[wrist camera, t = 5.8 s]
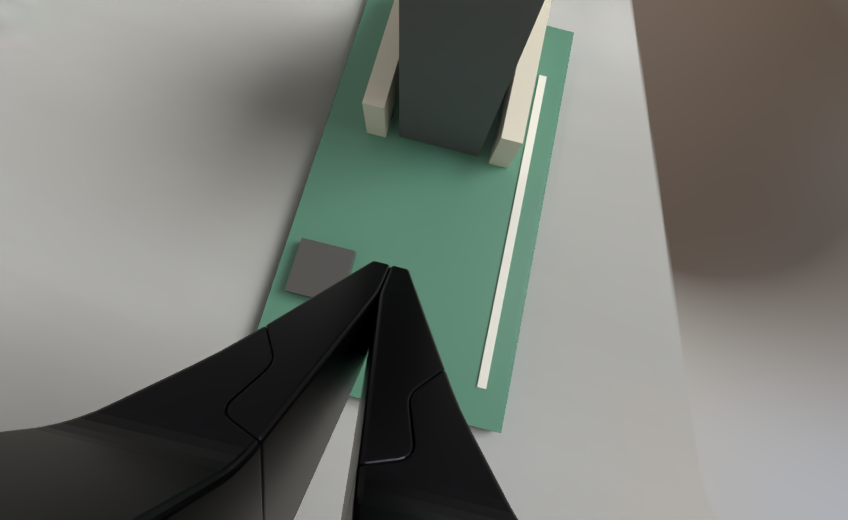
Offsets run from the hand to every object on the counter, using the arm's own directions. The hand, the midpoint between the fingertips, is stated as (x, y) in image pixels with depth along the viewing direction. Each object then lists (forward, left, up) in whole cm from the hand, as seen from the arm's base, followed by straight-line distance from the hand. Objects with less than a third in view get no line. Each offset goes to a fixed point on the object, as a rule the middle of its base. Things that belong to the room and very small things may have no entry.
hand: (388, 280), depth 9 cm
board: (+7, +5, -13) cm, 16 cm away
